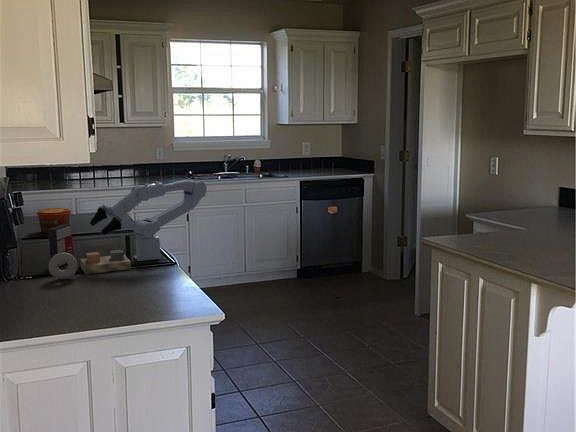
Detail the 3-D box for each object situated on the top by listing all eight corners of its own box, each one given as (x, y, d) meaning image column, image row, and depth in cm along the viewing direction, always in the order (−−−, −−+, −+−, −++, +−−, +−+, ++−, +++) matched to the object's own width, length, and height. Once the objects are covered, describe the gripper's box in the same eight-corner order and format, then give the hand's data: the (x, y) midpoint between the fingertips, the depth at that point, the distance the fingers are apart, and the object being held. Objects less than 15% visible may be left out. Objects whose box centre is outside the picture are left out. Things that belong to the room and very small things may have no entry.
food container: (40, 229, 307) (39, 208, 305) (73, 228, 311) (72, 207, 309) (35, 235, 292) (33, 213, 290) (70, 234, 296) (69, 212, 294)
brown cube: (98, 261, 237) (97, 252, 236) (100, 264, 233) (99, 254, 233) (86, 263, 235) (86, 253, 235) (88, 265, 231) (87, 255, 231)
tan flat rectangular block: (124, 261, 246) (124, 254, 245) (130, 268, 235) (130, 261, 235) (80, 266, 238) (80, 258, 238) (85, 273, 228) (84, 266, 227)
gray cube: (121, 259, 241) (121, 249, 240) (123, 262, 237) (123, 252, 237) (110, 260, 239) (109, 250, 238) (112, 263, 235) (112, 253, 235)
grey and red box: (59, 267, 236) (57, 229, 233) (49, 267, 237) (47, 229, 234) (74, 260, 247) (72, 224, 244) (65, 260, 247) (62, 224, 245)
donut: (78, 276, 224) (76, 250, 222) (78, 279, 221) (77, 252, 219) (49, 279, 220) (47, 252, 219) (49, 281, 217) (47, 254, 215)
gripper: (109, 192, 243) (82, 213, 237) (131, 208, 235) (104, 230, 230) (115, 204, 248) (88, 225, 242) (137, 220, 241) (110, 242, 235)
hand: (96, 228), depth 236 cm, fingers open, 7 cm apart
